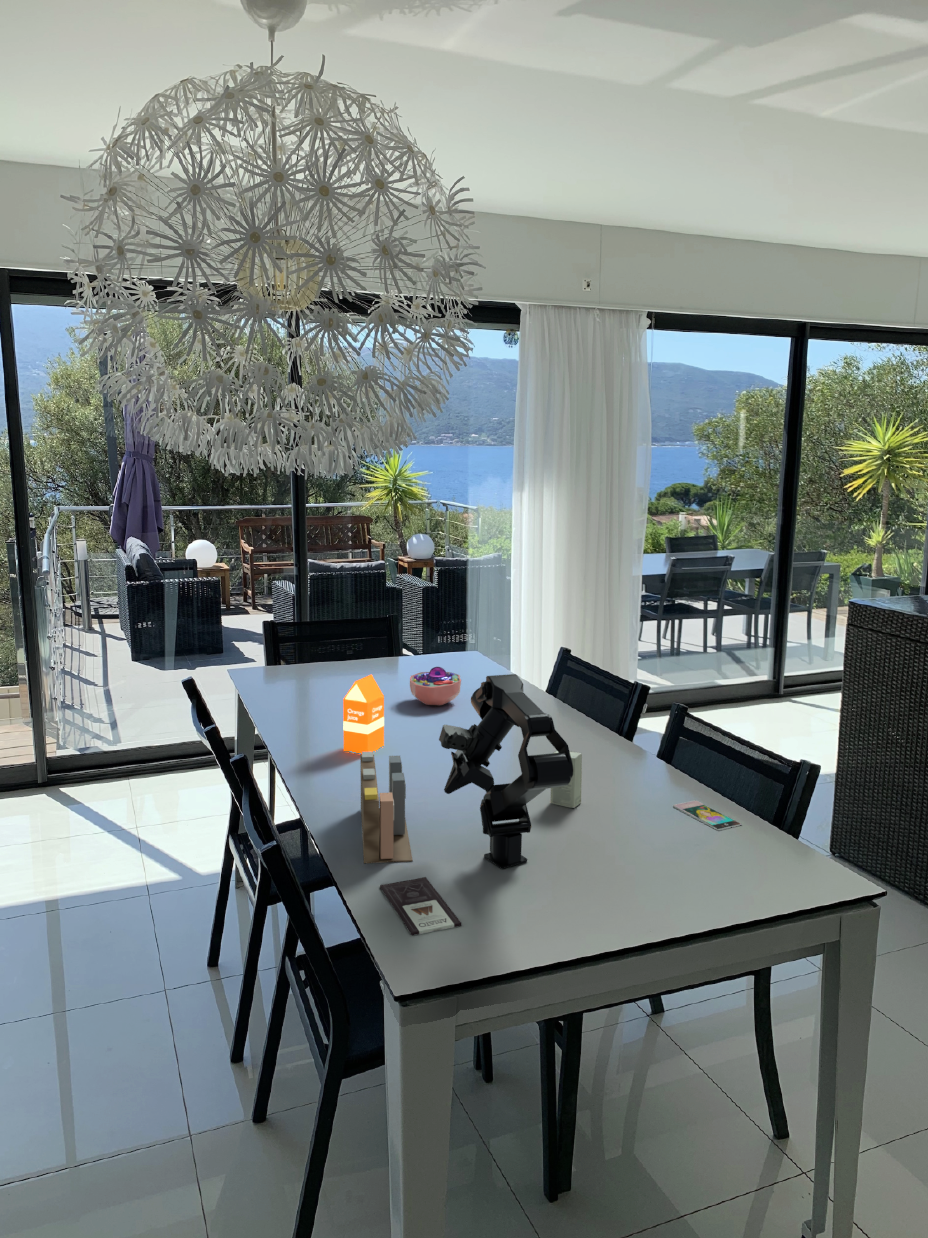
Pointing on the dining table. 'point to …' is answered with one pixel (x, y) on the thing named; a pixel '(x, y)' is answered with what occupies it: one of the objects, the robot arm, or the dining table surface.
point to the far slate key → (394, 768)
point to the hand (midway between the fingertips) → (446, 792)
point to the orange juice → (363, 716)
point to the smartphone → (706, 815)
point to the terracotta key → (386, 825)
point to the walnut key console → (377, 818)
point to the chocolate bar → (420, 906)
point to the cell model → (435, 686)
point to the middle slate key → (399, 803)
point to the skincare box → (570, 785)
